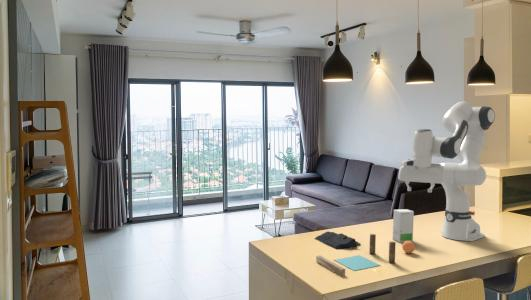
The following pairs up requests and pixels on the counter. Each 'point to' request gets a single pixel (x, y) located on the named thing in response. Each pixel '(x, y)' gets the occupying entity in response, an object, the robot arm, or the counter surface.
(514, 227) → the counter surface
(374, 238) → the post
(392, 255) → the post
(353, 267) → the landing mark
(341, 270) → the rail
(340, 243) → the dark slate chunk
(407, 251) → the ball
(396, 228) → the skincare box
